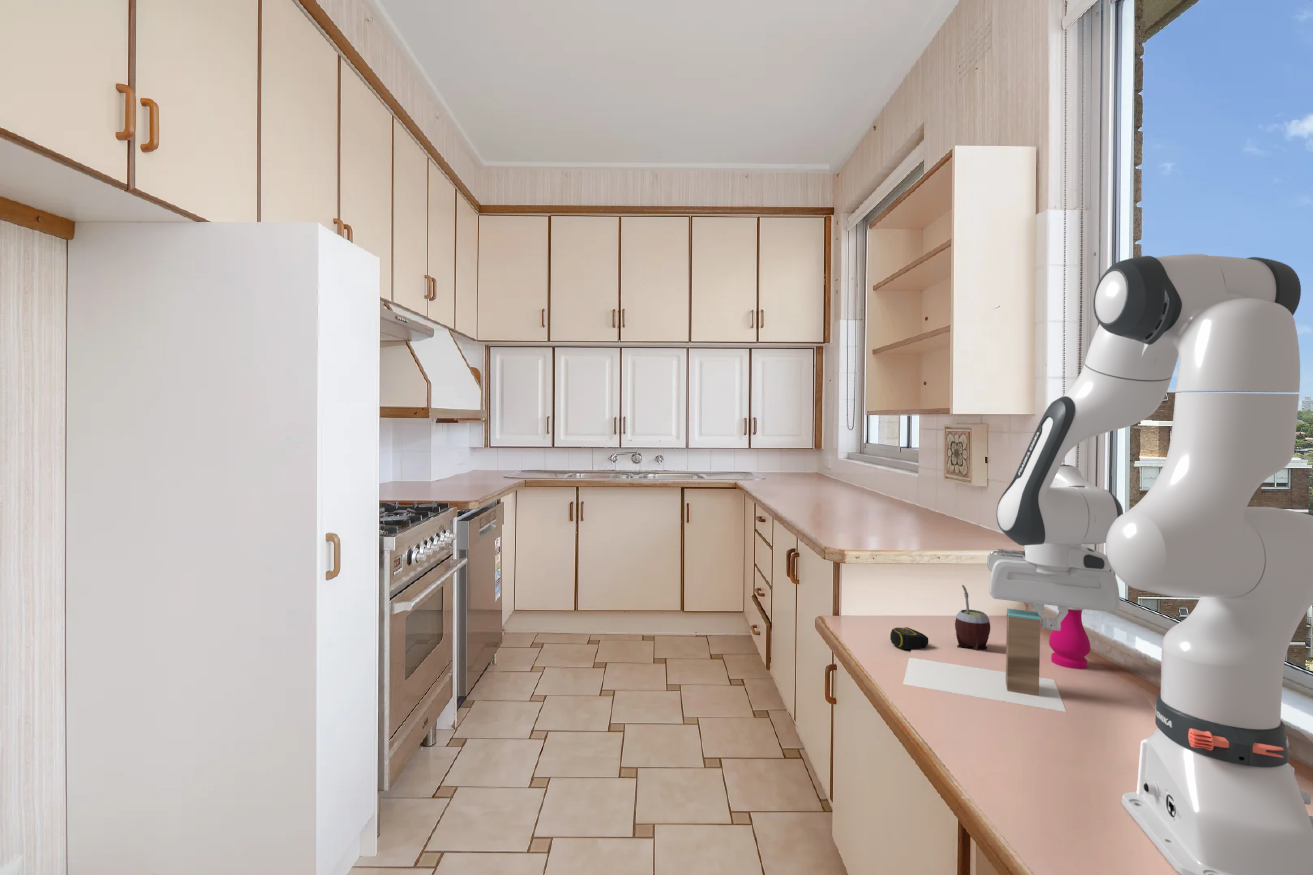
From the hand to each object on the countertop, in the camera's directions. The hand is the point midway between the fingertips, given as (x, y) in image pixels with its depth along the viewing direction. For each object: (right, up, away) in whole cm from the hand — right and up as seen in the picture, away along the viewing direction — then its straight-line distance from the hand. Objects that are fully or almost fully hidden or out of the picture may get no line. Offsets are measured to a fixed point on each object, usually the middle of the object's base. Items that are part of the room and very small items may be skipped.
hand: (1050, 628), depth 117 cm
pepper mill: (+13, -13, +16) cm, 24 cm away
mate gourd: (-2, -12, +25) cm, 28 cm away
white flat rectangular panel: (-10, -12, +5) cm, 17 cm away
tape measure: (-15, -12, +27) cm, 33 cm away
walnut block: (-4, -12, +2) cm, 13 cm away
